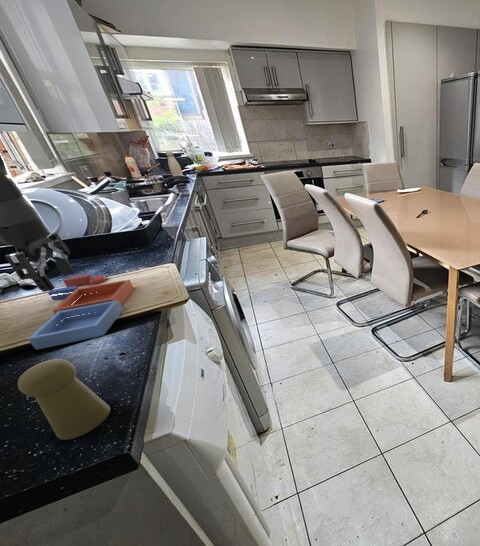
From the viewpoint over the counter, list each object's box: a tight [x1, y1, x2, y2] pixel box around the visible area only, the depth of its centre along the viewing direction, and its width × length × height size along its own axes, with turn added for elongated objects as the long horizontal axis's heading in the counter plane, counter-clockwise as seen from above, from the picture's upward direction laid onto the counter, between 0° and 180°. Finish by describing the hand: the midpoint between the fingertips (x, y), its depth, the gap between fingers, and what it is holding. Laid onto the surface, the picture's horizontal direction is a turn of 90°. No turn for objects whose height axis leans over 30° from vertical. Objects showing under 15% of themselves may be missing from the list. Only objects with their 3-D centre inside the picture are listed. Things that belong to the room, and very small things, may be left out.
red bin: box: [51, 279, 135, 315], centre depth 76 cm, size 11×10×3 cm
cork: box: [17, 358, 111, 441], centre depth 44 cm, size 6×6×11 cm
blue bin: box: [27, 300, 124, 351], centre depth 67 cm, size 11×10×3 cm
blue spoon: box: [47, 286, 79, 301], centre depth 80 cm, size 8×3×2 cm, turn 110°
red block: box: [62, 274, 107, 287], centre depth 85 cm, size 8×3×2 cm, turn 110°
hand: (59, 281), depth 78 cm, fingers open, 8 cm apart
